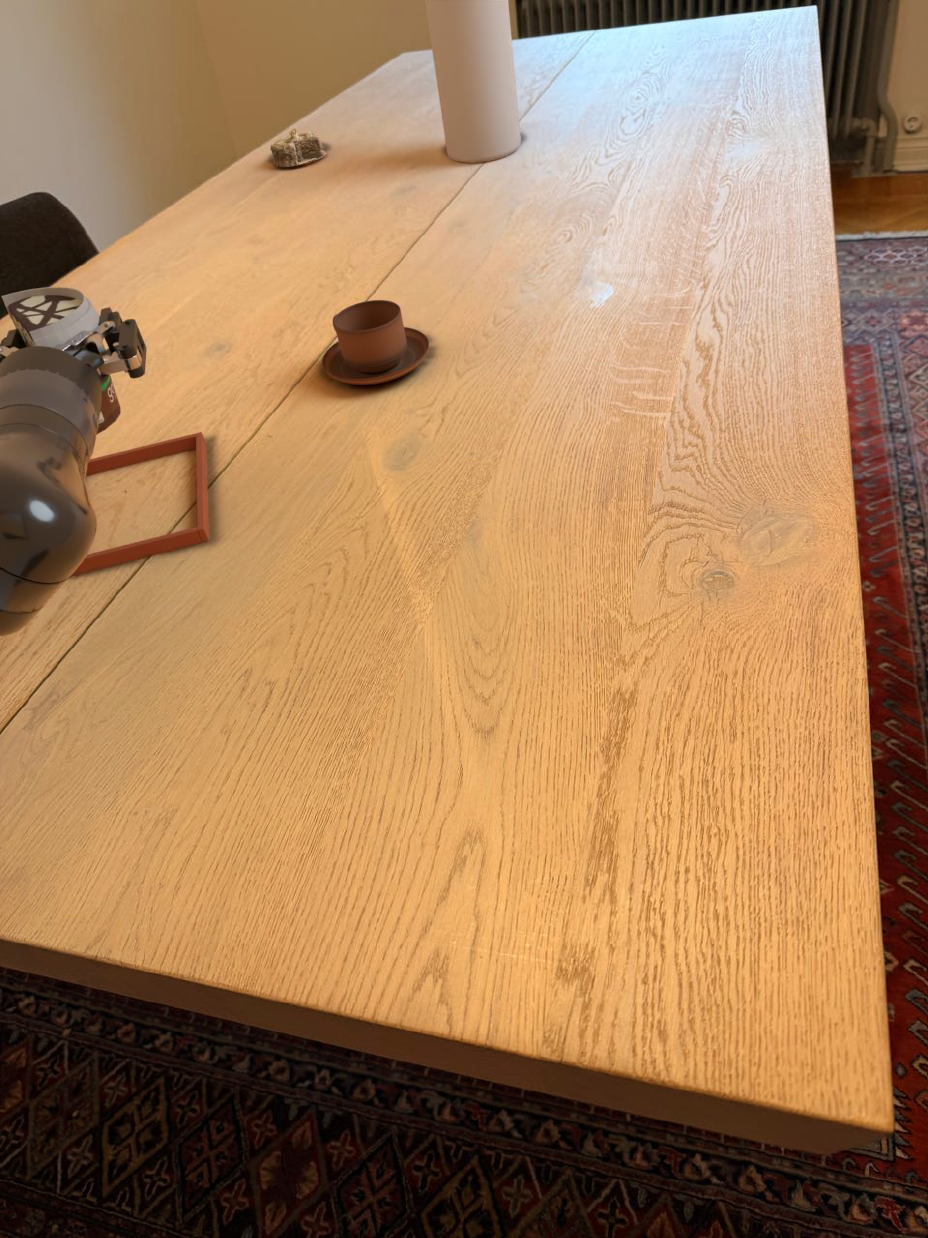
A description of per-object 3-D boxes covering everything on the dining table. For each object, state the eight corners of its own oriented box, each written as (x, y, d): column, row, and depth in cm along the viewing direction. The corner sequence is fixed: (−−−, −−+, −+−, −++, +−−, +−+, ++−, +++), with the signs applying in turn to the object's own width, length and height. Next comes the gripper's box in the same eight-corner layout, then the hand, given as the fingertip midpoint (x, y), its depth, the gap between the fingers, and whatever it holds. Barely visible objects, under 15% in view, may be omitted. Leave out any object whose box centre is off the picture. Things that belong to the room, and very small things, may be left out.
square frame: (65, 588, 80) (53, 566, 78) (82, 484, 92) (71, 463, 91) (213, 550, 81) (203, 528, 79) (209, 452, 93) (201, 431, 91)
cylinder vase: (485, 135, 159) (465, -38, 142) (537, 143, 151) (522, -38, 134) (432, 158, 154) (405, -19, 137) (483, 168, 146) (460, -18, 129)
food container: (152, 423, 78) (109, 309, 71) (82, 449, 75) (31, 333, 69) (112, 379, 86) (70, 273, 80) (48, 401, 84) (0, 294, 77)
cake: (263, 171, 164) (252, 139, 161) (299, 153, 170) (290, 122, 167) (301, 169, 159) (291, 136, 156) (338, 151, 164) (329, 118, 161)
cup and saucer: (307, 391, 100) (292, 339, 95) (355, 339, 107) (343, 289, 103) (405, 398, 95) (393, 344, 91) (448, 344, 103) (439, 291, 99)
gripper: (119, 348, 63) (130, 266, 75) (-88, 397, 62) (-42, 306, 74) (158, 440, 68) (163, 349, 81) (-32, 487, 67) (2, 388, 80)
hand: (65, 329), depth 77 cm, fingers closed on food container, 7 cm apart
